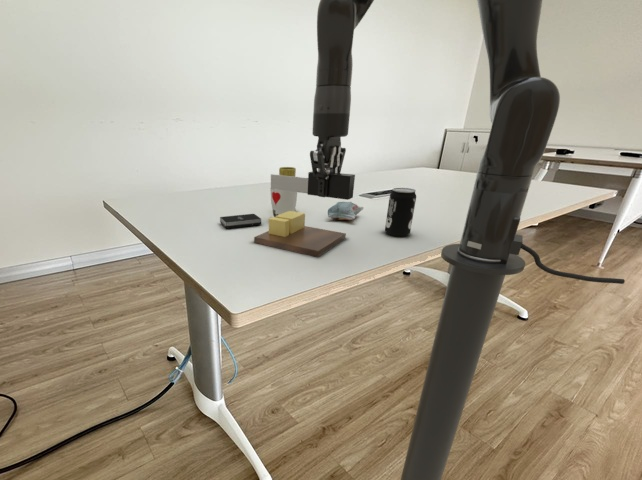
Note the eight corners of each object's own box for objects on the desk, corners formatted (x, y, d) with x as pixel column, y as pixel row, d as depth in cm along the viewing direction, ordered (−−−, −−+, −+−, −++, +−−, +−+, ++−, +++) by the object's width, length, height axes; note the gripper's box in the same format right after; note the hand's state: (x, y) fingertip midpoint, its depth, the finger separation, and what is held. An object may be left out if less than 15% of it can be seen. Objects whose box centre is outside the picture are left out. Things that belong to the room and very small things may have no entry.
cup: (266, 218, 108) (266, 186, 104) (290, 216, 111) (291, 184, 107) (275, 225, 101) (275, 190, 97) (300, 222, 104) (302, 189, 100)
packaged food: (362, 215, 112) (364, 200, 110) (353, 224, 102) (355, 208, 100) (336, 213, 115) (337, 198, 113) (325, 221, 105) (326, 205, 103)
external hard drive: (219, 223, 103) (219, 217, 102) (254, 219, 107) (254, 213, 106) (226, 229, 97) (225, 222, 96) (262, 225, 101) (262, 219, 100)
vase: (276, 209, 119) (277, 166, 113) (294, 209, 119) (295, 166, 113) (278, 214, 113) (279, 169, 107) (296, 213, 114) (298, 169, 108)
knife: (352, 197, 77) (355, 174, 74) (348, 199, 74) (350, 176, 72) (274, 187, 87) (274, 167, 85) (267, 189, 85) (267, 168, 83)
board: (345, 238, 90) (346, 233, 89) (317, 257, 78) (318, 250, 77) (287, 227, 99) (287, 222, 98) (254, 242, 87) (254, 237, 86)
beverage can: (405, 239, 90) (412, 192, 85) (380, 234, 94) (387, 189, 89) (412, 233, 95) (420, 189, 90) (389, 229, 98) (395, 186, 93)
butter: (304, 227, 94) (305, 213, 92) (291, 233, 89) (291, 218, 87) (289, 224, 97) (289, 210, 95) (275, 230, 91) (275, 216, 90)
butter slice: (289, 235, 88) (289, 219, 86) (285, 237, 86) (285, 221, 85) (272, 231, 90) (272, 216, 89) (268, 233, 89) (268, 218, 87)
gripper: (334, 110, 64) (327, 203, 71) (360, 112, 75) (352, 192, 82) (299, 111, 68) (296, 198, 75) (329, 112, 78) (324, 189, 86)
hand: (325, 195), depth 78 cm, fingers closed on knife, 3 cm apart
